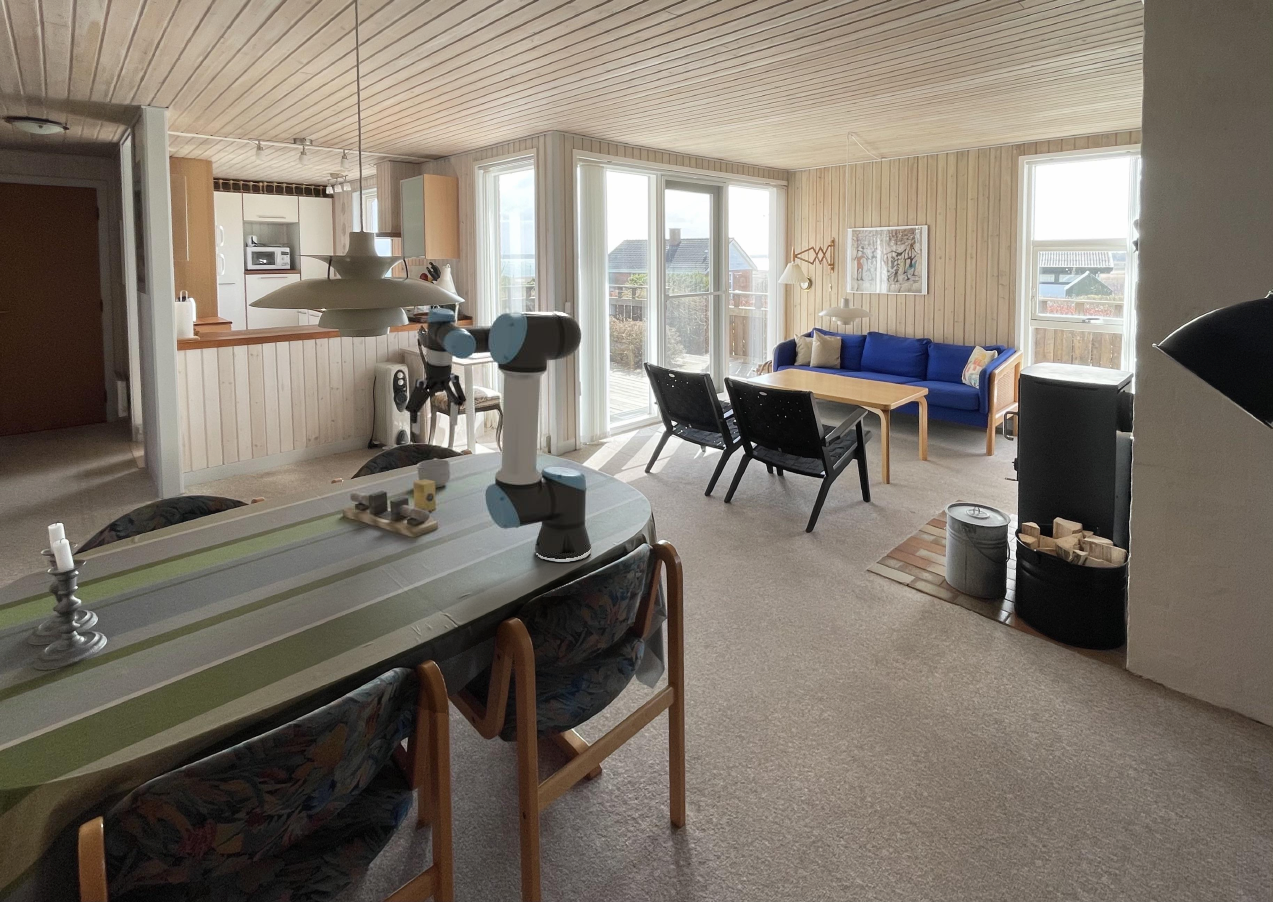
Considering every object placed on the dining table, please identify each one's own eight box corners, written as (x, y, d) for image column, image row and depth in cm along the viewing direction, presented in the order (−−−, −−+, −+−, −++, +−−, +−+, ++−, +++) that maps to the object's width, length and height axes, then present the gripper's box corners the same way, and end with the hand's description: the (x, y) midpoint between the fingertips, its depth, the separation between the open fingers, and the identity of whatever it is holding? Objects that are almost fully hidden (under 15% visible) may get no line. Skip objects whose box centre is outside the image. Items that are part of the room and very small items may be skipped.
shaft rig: (437, 528, 218) (437, 502, 216) (414, 537, 210) (413, 510, 208) (367, 508, 233) (365, 483, 231) (342, 516, 225) (341, 490, 223)
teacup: (445, 490, 252) (445, 467, 250) (413, 489, 252) (412, 466, 250) (456, 478, 266) (455, 457, 264) (425, 477, 266) (424, 455, 264)
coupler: (436, 509, 234) (435, 481, 232) (425, 513, 230) (424, 485, 228) (425, 506, 236) (424, 478, 234) (414, 510, 232) (413, 482, 230)
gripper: (465, 352, 231) (460, 416, 240) (394, 363, 213) (391, 431, 222) (480, 360, 227) (475, 424, 236) (409, 371, 209) (406, 440, 217)
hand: (435, 428), depth 229 cm, fingers open, 13 cm apart
